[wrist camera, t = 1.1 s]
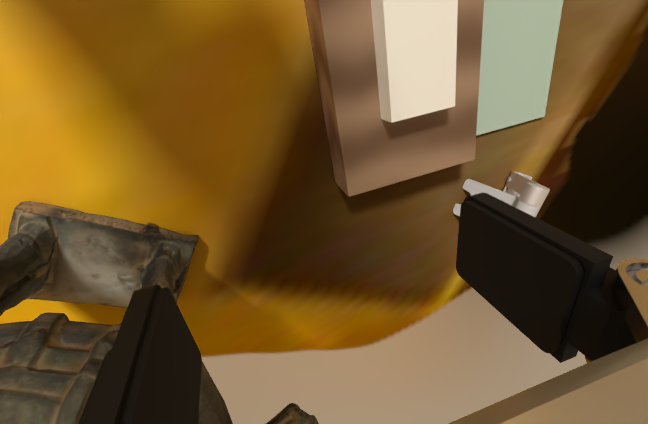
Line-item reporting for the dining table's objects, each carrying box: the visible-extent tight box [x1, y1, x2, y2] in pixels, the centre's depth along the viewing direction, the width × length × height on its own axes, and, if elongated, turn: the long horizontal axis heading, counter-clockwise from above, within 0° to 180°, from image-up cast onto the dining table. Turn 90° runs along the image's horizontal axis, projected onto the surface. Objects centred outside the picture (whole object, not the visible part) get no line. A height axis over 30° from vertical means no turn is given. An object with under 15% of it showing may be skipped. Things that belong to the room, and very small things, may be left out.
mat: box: [476, 0, 563, 136], centre depth 31 cm, size 20×12×1 cm, turn 11°
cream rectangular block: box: [371, 0, 458, 123], centre depth 25 cm, size 9×6×2 cm, turn 11°
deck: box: [304, 0, 484, 197], centre depth 27 cm, size 22×14×4 cm, turn 11°
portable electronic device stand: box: [453, 171, 550, 217], centre depth 37 cm, size 9×8×8 cm
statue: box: [0, 202, 318, 424], centre depth 20 cm, size 25×10×25 cm, turn 64°
